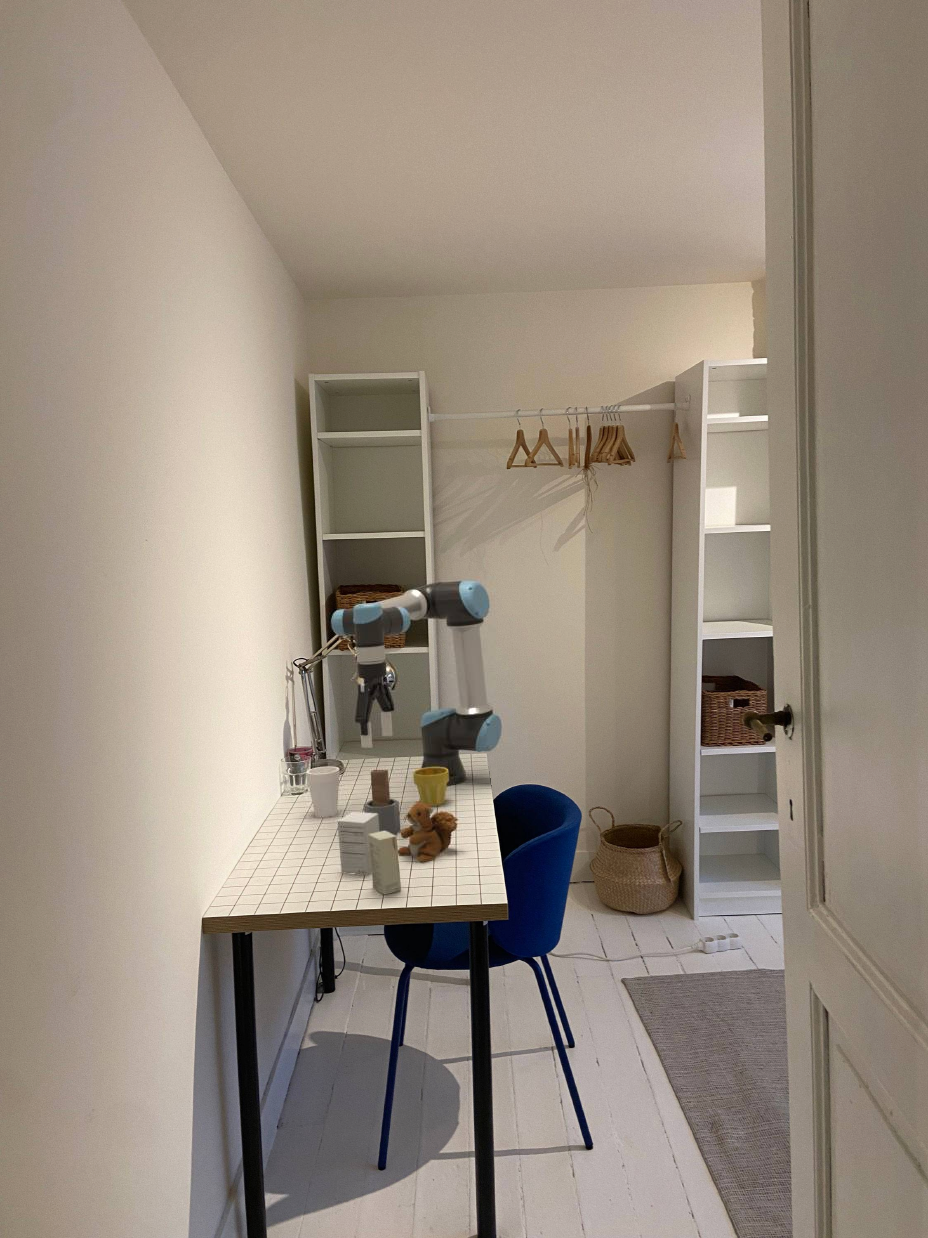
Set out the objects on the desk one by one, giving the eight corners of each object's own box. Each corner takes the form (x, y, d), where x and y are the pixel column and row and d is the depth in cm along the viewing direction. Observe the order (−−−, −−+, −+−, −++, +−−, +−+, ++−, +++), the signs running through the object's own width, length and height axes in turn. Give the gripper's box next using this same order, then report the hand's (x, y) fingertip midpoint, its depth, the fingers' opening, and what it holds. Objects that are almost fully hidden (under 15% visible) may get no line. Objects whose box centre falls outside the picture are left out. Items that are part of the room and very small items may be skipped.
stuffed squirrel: (394, 855, 216) (391, 802, 215) (443, 842, 224) (440, 791, 223) (414, 866, 208) (411, 811, 207) (464, 852, 215) (461, 799, 215)
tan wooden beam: (378, 828, 237) (374, 769, 236) (391, 829, 236) (387, 770, 235) (374, 831, 235) (370, 771, 234) (388, 831, 234) (384, 772, 233)
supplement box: (355, 862, 213) (351, 811, 212) (382, 865, 210) (379, 812, 209) (340, 873, 206) (336, 820, 205) (368, 876, 203) (364, 822, 202)
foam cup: (335, 819, 250) (332, 774, 250) (305, 819, 252) (301, 774, 251) (346, 809, 260) (343, 766, 259) (317, 809, 262) (313, 766, 261)
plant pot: (428, 810, 253) (426, 777, 253) (408, 803, 262) (406, 771, 261) (457, 803, 259) (455, 770, 259) (437, 796, 268) (435, 765, 267)
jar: (375, 827, 241) (373, 798, 240) (404, 828, 238) (402, 799, 237) (361, 837, 232) (359, 807, 232) (392, 838, 230) (389, 808, 229)
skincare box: (401, 891, 192) (398, 836, 191) (383, 896, 190) (379, 840, 189) (389, 882, 198) (385, 829, 197) (371, 887, 196) (367, 833, 195)
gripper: (377, 656, 245) (382, 731, 247) (337, 669, 222) (344, 752, 223) (402, 655, 243) (407, 731, 244) (364, 668, 219) (371, 752, 221)
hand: (377, 741), depth 234 cm, fingers open, 13 cm apart
